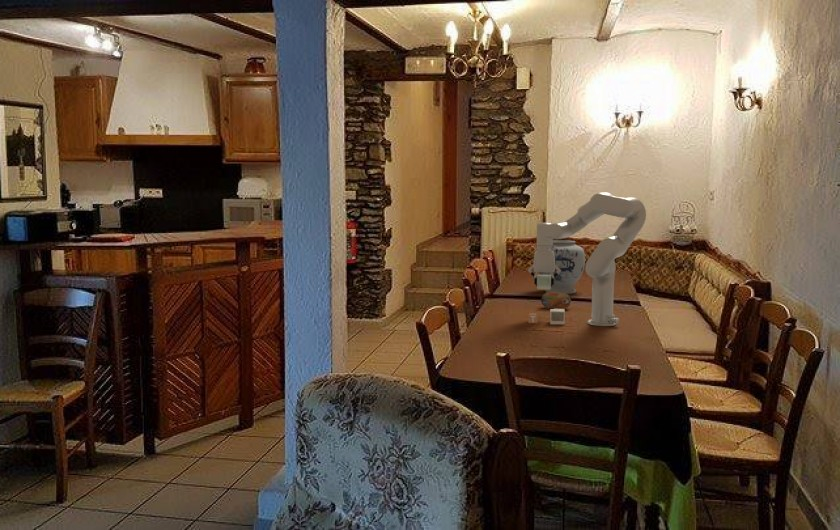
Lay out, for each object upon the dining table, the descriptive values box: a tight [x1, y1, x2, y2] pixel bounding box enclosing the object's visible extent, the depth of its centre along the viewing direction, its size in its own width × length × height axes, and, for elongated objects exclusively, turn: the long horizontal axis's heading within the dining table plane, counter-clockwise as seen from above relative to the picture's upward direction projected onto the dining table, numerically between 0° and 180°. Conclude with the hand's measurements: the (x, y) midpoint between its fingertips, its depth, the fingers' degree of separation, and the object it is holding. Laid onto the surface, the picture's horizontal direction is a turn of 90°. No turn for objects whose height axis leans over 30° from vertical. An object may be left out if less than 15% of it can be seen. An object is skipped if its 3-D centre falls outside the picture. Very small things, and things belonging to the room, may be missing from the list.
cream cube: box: [549, 309, 566, 325], centre depth 340 cm, size 6×6×6 cm
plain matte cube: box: [536, 274, 551, 290], centre depth 352 cm, size 6×6×6 cm
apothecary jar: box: [540, 239, 586, 295], centre depth 429 cm, size 27×27×30 cm
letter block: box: [527, 312, 538, 324], centre depth 342 cm, size 4×4×4 cm
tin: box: [541, 292, 572, 310], centre depth 377 cm, size 15×3×8 cm, turn 62°
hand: (543, 285), depth 352 cm, fingers closed on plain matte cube, 6 cm apart
